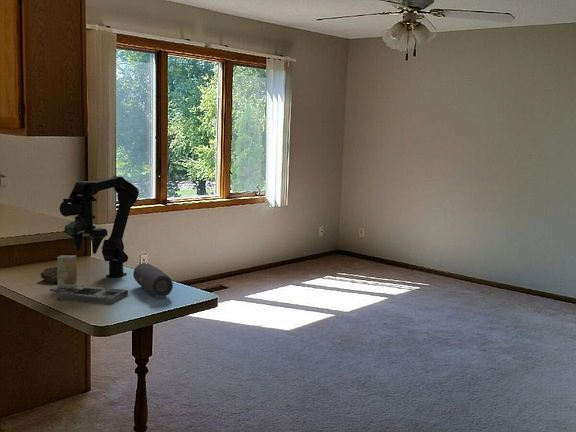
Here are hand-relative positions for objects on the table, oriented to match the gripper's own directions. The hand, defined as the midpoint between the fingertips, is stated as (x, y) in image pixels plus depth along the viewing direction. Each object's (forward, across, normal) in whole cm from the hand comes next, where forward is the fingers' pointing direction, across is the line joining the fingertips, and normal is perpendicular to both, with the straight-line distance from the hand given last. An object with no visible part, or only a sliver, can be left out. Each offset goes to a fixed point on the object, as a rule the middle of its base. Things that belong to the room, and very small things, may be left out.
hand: (86, 252), depth 243 cm
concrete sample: (+13, -14, -4) cm, 20 cm away
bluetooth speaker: (+13, +30, +5) cm, 33 cm away
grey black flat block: (+13, +16, -11) cm, 24 cm away
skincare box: (+13, -1, -9) cm, 15 cm away
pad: (+13, -1, -9) cm, 16 cm away
